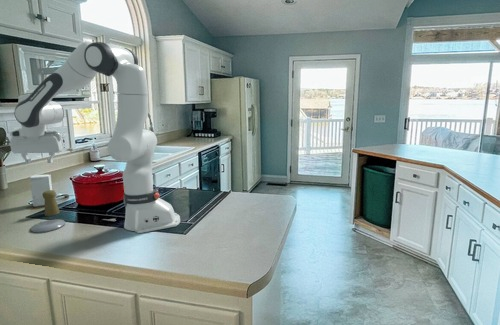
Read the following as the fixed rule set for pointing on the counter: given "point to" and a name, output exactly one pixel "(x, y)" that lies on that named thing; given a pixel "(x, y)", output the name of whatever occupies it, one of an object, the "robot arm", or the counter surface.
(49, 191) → the cork
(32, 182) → the skincare box
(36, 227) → the coaster
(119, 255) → the counter surface
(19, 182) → the counter surface
